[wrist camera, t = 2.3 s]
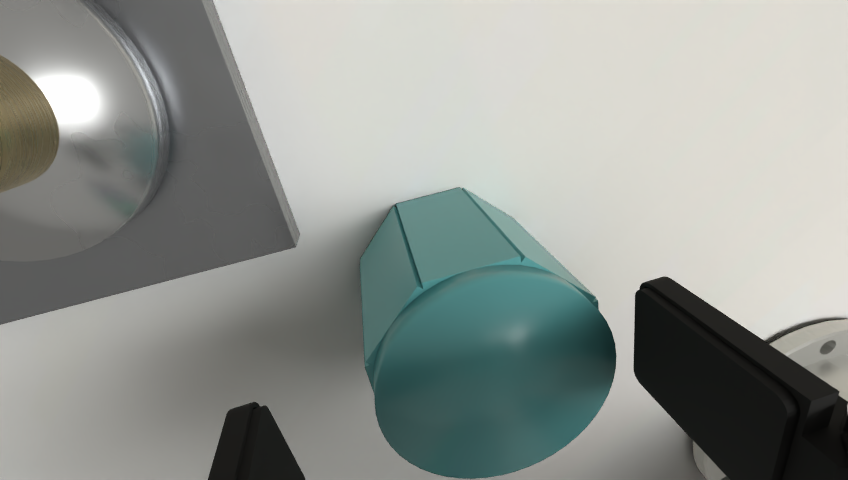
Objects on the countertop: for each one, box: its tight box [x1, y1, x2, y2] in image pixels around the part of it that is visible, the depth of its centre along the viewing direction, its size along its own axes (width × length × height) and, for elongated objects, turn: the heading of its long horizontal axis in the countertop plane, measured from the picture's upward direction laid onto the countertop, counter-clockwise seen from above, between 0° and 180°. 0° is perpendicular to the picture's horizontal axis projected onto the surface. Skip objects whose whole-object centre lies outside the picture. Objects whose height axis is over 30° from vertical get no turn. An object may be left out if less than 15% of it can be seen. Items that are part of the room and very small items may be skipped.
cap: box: [360, 187, 616, 479], centre depth 14 cm, size 6×6×7 cm
